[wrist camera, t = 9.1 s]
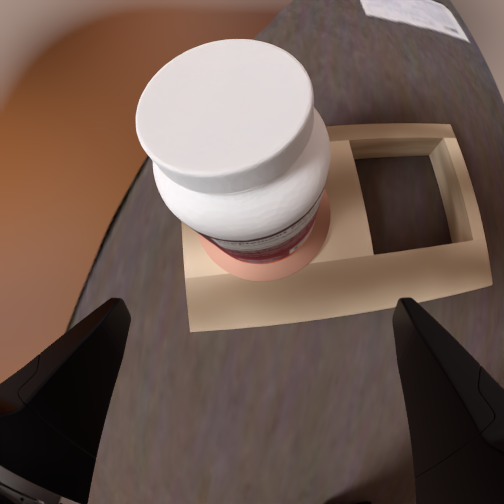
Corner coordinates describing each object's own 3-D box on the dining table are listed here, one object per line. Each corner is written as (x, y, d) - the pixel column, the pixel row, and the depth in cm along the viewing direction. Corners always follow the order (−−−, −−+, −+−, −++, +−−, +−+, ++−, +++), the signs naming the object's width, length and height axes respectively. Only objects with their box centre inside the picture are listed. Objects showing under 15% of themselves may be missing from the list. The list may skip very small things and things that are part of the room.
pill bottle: (206, 174, 18) (124, 50, 8) (304, 159, 18) (312, 12, 7) (214, 274, 17) (101, 228, 6) (322, 259, 17) (375, 185, 6)
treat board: (470, 287, 18) (495, 284, 15) (204, 328, 20) (188, 332, 17) (436, 142, 20) (451, 122, 17) (192, 166, 22) (178, 146, 19)
